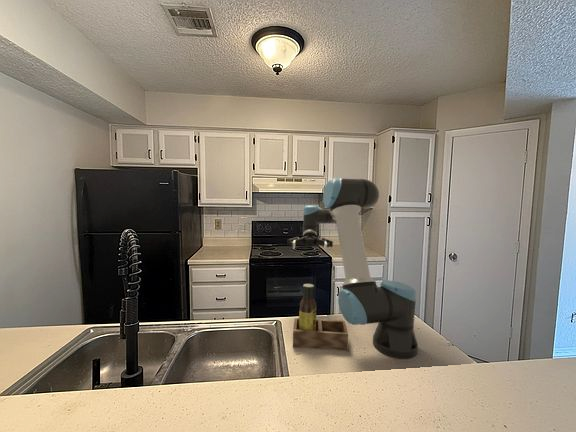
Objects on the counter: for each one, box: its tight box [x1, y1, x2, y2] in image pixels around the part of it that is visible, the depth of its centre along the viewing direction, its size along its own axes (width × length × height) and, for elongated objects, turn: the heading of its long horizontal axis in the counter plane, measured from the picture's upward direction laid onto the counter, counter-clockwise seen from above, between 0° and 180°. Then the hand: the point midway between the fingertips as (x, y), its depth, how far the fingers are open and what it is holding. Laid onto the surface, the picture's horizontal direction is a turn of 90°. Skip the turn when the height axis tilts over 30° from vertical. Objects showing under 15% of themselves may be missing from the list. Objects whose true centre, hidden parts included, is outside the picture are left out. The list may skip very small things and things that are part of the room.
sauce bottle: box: [298, 283, 317, 331], centre depth 101 cm, size 6×6×20 cm
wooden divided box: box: [292, 317, 349, 352], centre depth 102 cm, size 19×10×6 cm, turn 85°
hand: (309, 246), depth 116 cm, fingers open, 13 cm apart
